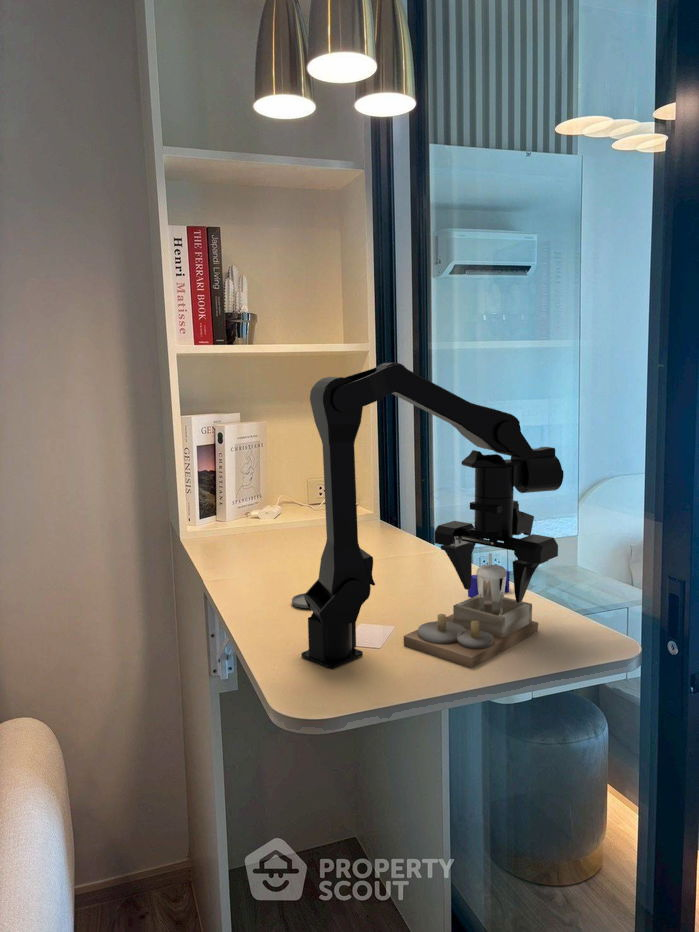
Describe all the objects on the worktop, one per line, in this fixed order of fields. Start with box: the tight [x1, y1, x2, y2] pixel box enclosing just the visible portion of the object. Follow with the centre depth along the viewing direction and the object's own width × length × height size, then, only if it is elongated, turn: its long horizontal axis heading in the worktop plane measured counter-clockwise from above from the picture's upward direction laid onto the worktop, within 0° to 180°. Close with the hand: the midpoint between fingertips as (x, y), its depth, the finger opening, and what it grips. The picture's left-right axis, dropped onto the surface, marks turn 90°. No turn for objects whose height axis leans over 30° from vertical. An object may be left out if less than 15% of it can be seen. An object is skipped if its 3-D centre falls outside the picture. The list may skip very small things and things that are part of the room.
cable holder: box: [467, 569, 511, 599], centre depth 129 cm, size 8×4×4 cm, turn 120°
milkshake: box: [475, 553, 507, 616], centre depth 108 cm, size 4×5×10 cm
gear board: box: [403, 595, 539, 669], centre depth 107 cm, size 18×12×4 cm, turn 136°
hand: (492, 595), depth 109 cm, fingers open, 9 cm apart
